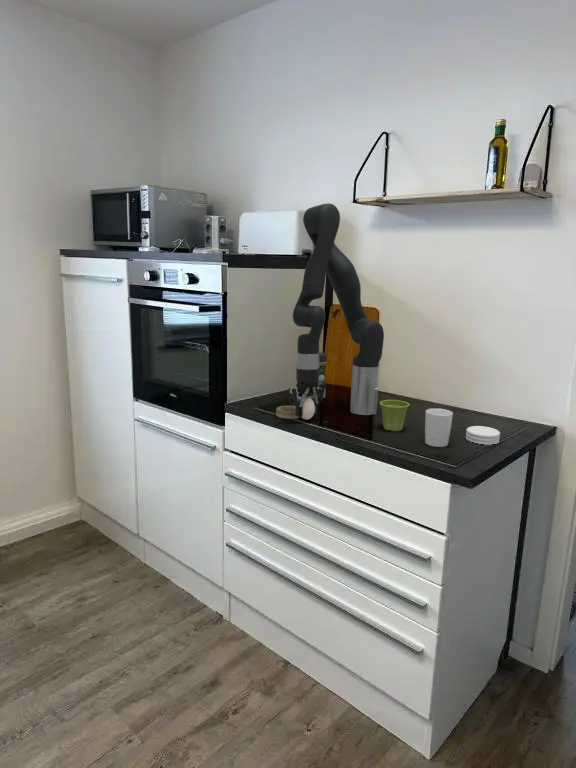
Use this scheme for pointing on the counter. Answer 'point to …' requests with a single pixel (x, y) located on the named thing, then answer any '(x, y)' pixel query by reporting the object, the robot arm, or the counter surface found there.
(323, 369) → the coffee jar
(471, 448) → the counter surface
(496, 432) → the white jar lid
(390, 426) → the plant pot
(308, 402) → the egg
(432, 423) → the white cup
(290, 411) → the egg holder
